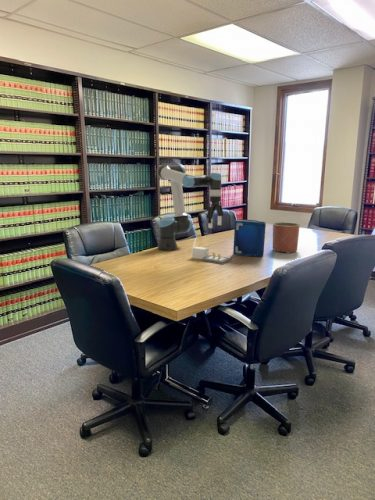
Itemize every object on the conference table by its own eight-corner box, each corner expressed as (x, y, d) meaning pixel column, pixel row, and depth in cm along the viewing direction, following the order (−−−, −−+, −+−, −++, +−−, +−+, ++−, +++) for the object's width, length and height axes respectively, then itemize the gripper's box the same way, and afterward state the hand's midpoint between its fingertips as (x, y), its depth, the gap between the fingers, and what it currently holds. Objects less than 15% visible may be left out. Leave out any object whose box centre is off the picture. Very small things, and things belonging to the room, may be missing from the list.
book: (265, 255, 261) (266, 220, 255) (263, 257, 254) (265, 221, 249) (234, 253, 268) (235, 219, 262) (232, 255, 261) (233, 220, 256)
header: (201, 260, 247) (201, 253, 246) (211, 257, 257) (211, 250, 256) (222, 264, 238) (222, 256, 237) (231, 260, 248) (231, 253, 247)
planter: (266, 250, 274) (267, 224, 270) (279, 246, 288) (280, 221, 283) (290, 254, 262) (291, 227, 257) (302, 250, 275) (304, 223, 271)
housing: (192, 257, 255) (192, 247, 254) (196, 256, 260) (196, 246, 258) (204, 259, 250) (204, 249, 248) (208, 258, 254) (208, 248, 253)
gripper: (211, 197, 239) (211, 229, 244) (228, 194, 259) (227, 224, 264) (201, 197, 243) (201, 228, 247) (218, 194, 263) (218, 223, 268)
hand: (215, 226), depth 256 cm, fingers open, 13 cm apart
